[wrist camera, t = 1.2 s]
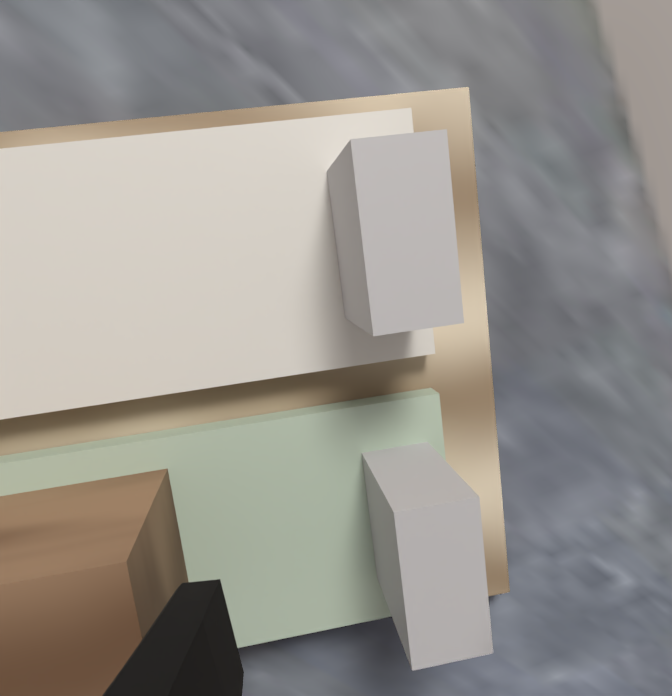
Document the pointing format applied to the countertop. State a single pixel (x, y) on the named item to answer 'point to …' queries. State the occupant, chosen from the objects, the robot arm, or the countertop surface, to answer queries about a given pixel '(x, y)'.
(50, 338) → the white strip
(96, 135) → the base
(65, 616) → the walnut block
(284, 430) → the green strip
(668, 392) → the countertop surface
